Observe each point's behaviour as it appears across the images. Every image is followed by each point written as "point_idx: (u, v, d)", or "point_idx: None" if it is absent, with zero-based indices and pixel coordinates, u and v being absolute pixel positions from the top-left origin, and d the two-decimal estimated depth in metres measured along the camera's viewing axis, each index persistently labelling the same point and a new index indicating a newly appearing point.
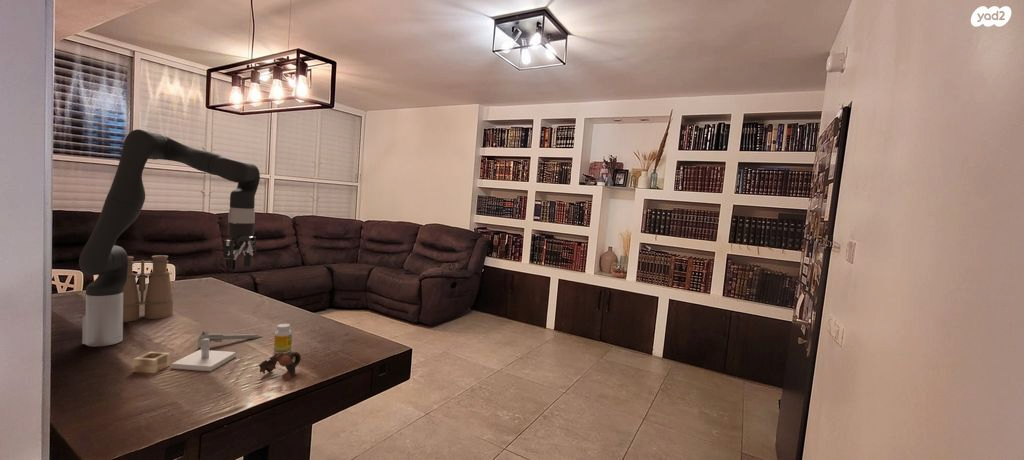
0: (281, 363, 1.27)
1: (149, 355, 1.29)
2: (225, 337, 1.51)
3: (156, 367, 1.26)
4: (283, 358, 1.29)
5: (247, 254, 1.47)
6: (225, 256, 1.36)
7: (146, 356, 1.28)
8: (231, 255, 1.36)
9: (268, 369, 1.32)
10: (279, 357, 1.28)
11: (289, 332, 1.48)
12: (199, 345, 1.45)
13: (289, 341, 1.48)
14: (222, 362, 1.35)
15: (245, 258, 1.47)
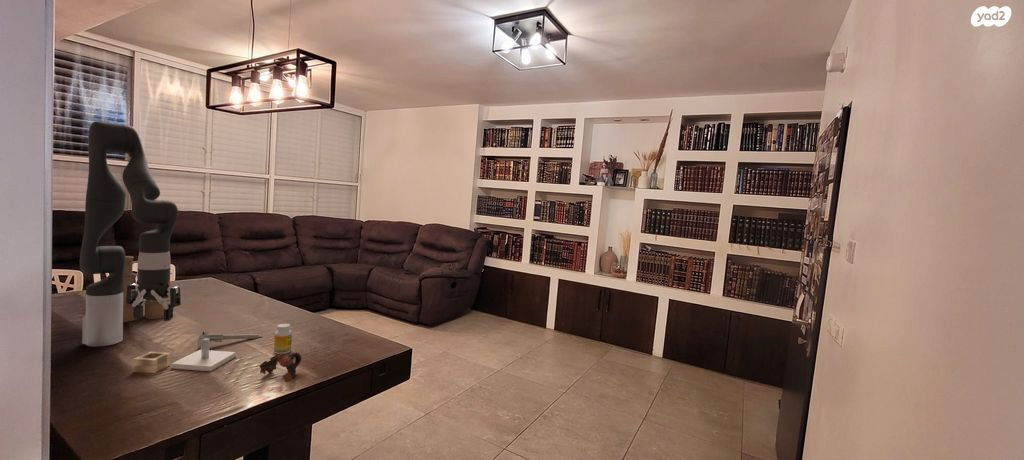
0: (282, 364, 1.27)
1: (149, 355, 1.29)
2: (225, 337, 1.51)
3: (156, 367, 1.26)
4: (284, 358, 1.29)
5: (139, 304, 1.27)
6: (176, 304, 1.26)
7: (146, 356, 1.28)
8: None
9: (268, 370, 1.31)
10: (280, 358, 1.28)
11: (289, 332, 1.48)
12: (199, 345, 1.45)
13: (289, 341, 1.48)
14: (222, 362, 1.35)
15: (138, 309, 1.26)
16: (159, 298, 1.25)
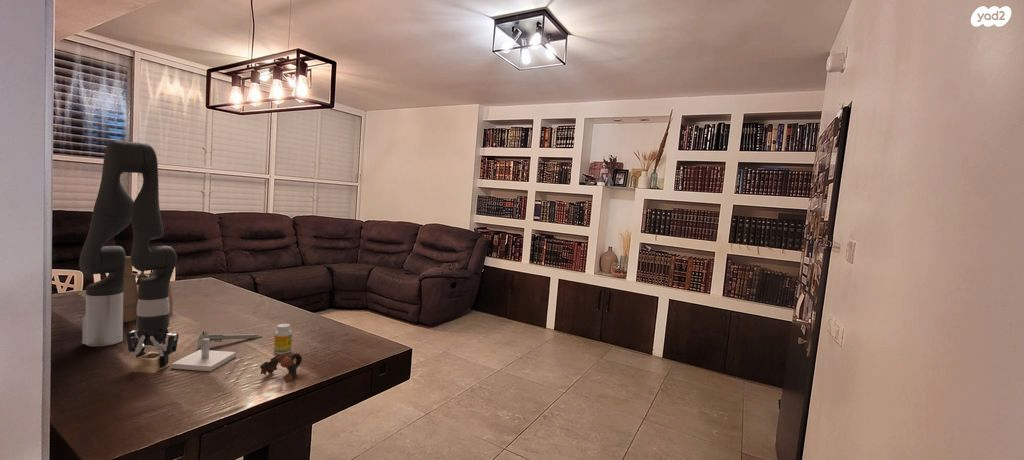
0: (282, 364, 1.26)
1: (149, 355, 1.29)
2: (225, 337, 1.51)
3: (157, 367, 1.26)
4: (284, 359, 1.28)
5: (141, 351, 1.28)
6: (171, 352, 1.27)
7: (146, 356, 1.28)
8: None
9: (269, 370, 1.31)
10: (281, 358, 1.28)
11: (289, 332, 1.48)
12: (199, 345, 1.45)
13: (289, 341, 1.48)
14: (222, 362, 1.35)
15: None
16: (157, 345, 1.26)
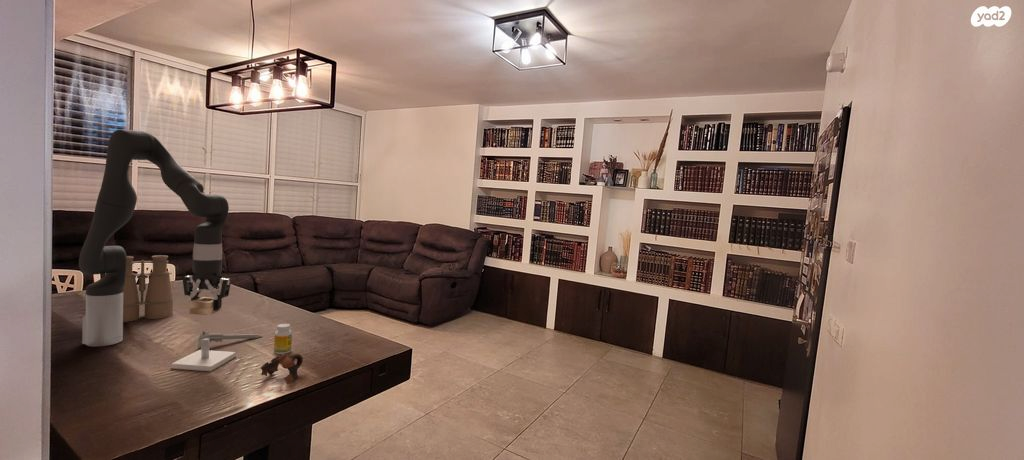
0: (283, 365, 1.26)
1: (203, 299, 1.35)
2: (225, 337, 1.51)
3: (211, 310, 1.32)
4: (285, 360, 1.28)
5: (196, 295, 1.34)
6: (224, 296, 1.33)
7: (200, 300, 1.34)
8: None
9: (269, 371, 1.30)
10: (281, 359, 1.27)
11: (289, 332, 1.48)
12: (199, 345, 1.45)
13: (289, 341, 1.48)
14: (222, 362, 1.35)
15: None
16: (211, 288, 1.32)
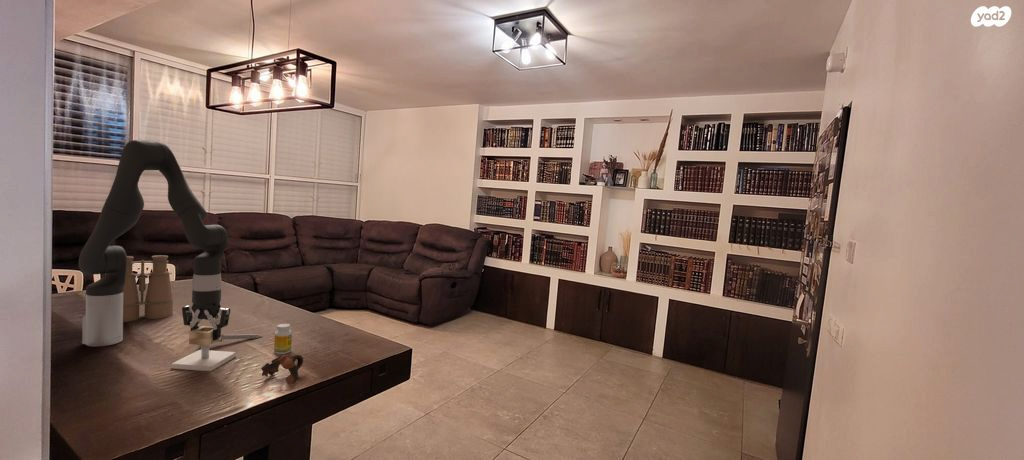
0: (284, 366, 1.25)
1: (202, 329, 1.36)
2: (225, 337, 1.51)
3: (210, 340, 1.33)
4: (286, 360, 1.27)
5: (195, 325, 1.34)
6: (224, 325, 1.34)
7: (200, 330, 1.35)
8: None
9: (270, 372, 1.30)
10: (282, 360, 1.27)
11: (289, 332, 1.48)
12: (199, 345, 1.45)
13: (289, 341, 1.48)
14: (222, 362, 1.35)
15: None
16: (210, 318, 1.33)
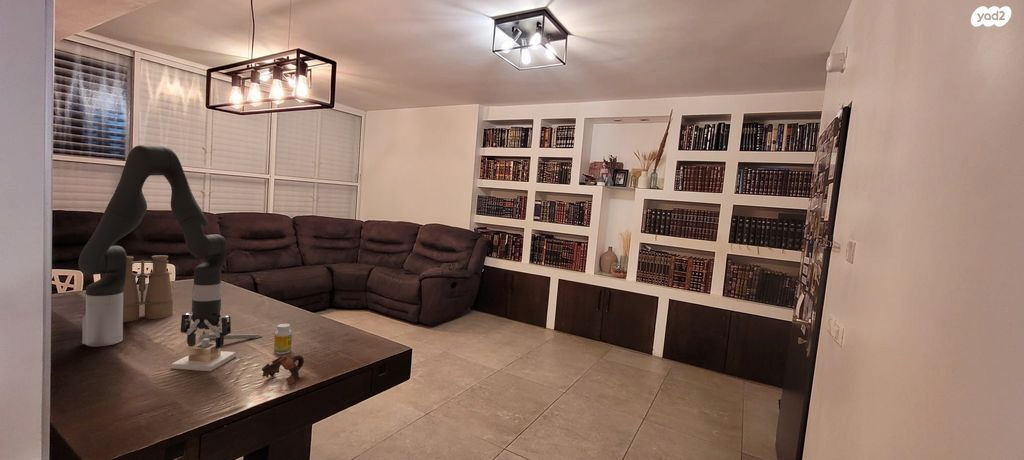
0: (285, 367, 1.25)
1: None
2: (225, 337, 1.51)
3: (210, 356, 1.34)
4: (287, 361, 1.27)
5: (192, 332, 1.35)
6: (227, 333, 1.34)
7: (199, 346, 1.35)
8: None
9: (270, 373, 1.29)
10: (283, 361, 1.26)
11: (289, 332, 1.48)
12: None
13: (289, 341, 1.48)
14: (222, 362, 1.35)
15: (191, 337, 1.34)
16: (212, 327, 1.33)
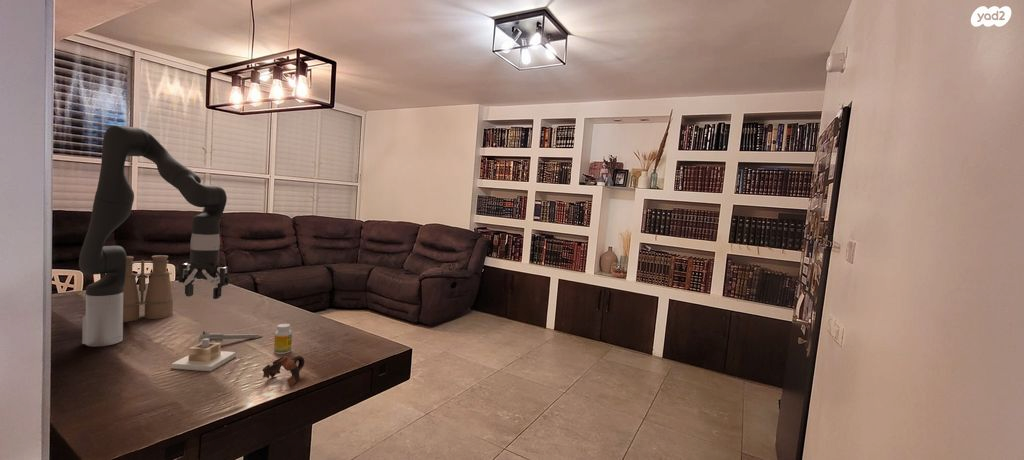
0: (286, 367, 1.25)
1: None
2: (226, 337, 1.51)
3: (210, 356, 1.34)
4: (287, 362, 1.26)
5: (190, 283, 1.35)
6: (224, 284, 1.35)
7: (199, 346, 1.35)
8: None
9: (271, 374, 1.29)
10: (284, 361, 1.26)
11: (289, 332, 1.48)
12: None
13: (289, 341, 1.48)
14: (222, 362, 1.35)
15: (189, 287, 1.34)
16: (209, 277, 1.33)
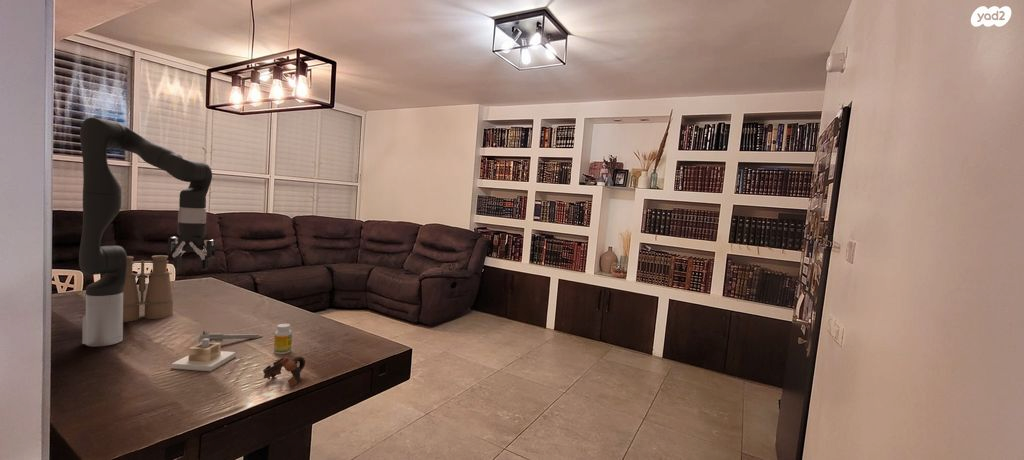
0: (286, 368, 1.24)
1: None
2: (226, 337, 1.51)
3: (210, 356, 1.34)
4: (288, 363, 1.26)
5: (178, 255, 1.41)
6: (211, 256, 1.40)
7: (199, 346, 1.35)
8: None
9: (272, 375, 1.28)
10: (284, 362, 1.25)
11: (289, 332, 1.48)
12: None
13: (289, 341, 1.48)
14: (222, 362, 1.35)
15: (177, 260, 1.40)
16: (197, 249, 1.39)
